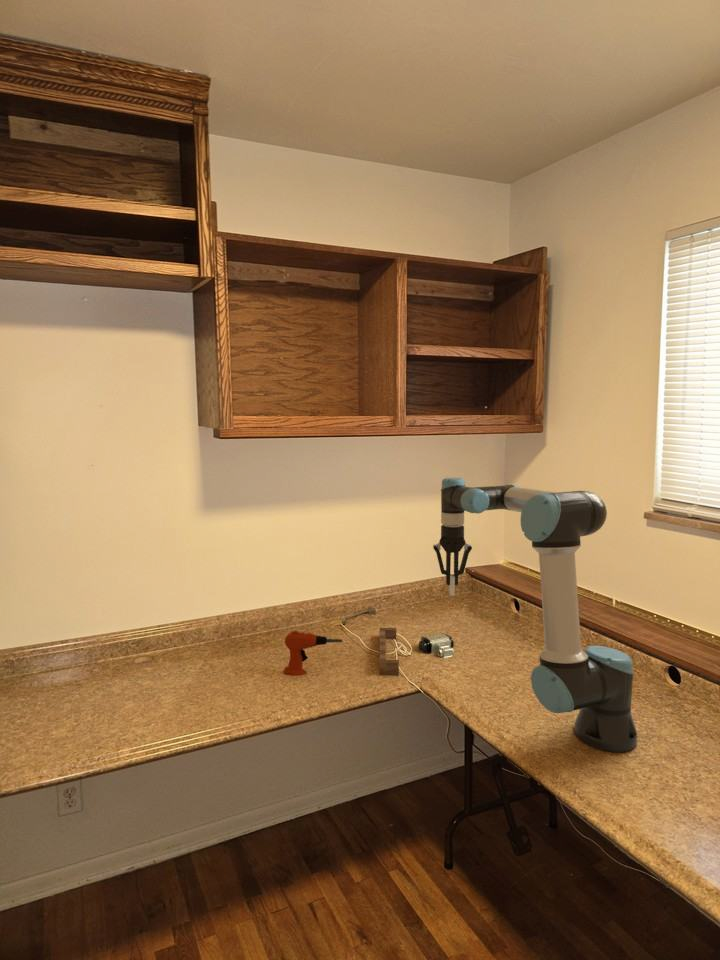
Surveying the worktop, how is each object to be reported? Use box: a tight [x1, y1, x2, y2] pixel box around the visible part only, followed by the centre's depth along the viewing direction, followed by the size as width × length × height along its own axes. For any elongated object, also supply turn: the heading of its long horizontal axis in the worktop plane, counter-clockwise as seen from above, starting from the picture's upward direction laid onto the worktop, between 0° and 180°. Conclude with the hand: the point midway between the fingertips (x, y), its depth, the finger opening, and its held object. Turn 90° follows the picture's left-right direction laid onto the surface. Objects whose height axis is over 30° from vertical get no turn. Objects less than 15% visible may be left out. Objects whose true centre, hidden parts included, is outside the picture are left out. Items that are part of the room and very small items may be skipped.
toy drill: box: [283, 630, 343, 677], centre depth 187 cm, size 5×19×15 cm, turn 87°
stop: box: [379, 627, 400, 677], centre depth 202 cm, size 30×6×5 cm, turn 178°
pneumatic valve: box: [418, 632, 455, 659], centre depth 206 cm, size 6×12×12 cm
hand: (451, 594), depth 199 cm, fingers closed
